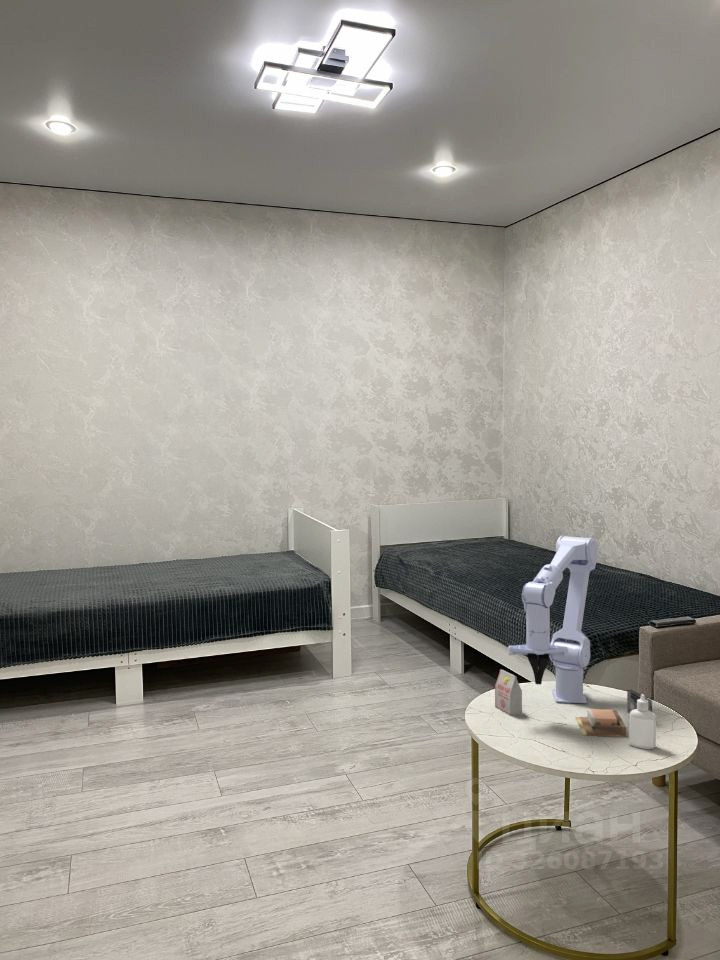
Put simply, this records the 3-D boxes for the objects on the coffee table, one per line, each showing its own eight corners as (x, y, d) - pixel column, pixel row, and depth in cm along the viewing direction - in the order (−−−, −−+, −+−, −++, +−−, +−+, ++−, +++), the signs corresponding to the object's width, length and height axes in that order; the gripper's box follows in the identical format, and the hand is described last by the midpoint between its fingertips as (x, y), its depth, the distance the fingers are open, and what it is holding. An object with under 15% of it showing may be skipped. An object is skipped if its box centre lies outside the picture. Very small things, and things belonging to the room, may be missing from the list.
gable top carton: (506, 704, 199) (506, 668, 198) (522, 713, 193) (521, 675, 192) (495, 707, 197) (494, 670, 197) (510, 715, 191) (509, 677, 191)
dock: (575, 717, 189) (575, 709, 189) (616, 718, 188) (616, 710, 188) (582, 735, 178) (582, 726, 178) (626, 736, 177) (626, 727, 177)
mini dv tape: (652, 723, 185) (652, 699, 184) (646, 724, 184) (646, 700, 184) (632, 711, 192) (632, 689, 192) (627, 712, 192) (627, 689, 192)
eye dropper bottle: (646, 752, 168) (647, 700, 167) (626, 744, 173) (626, 693, 172) (659, 747, 170) (659, 696, 170) (638, 739, 175) (638, 689, 174)
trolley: (587, 720, 187) (587, 708, 186) (613, 721, 186) (613, 709, 185) (591, 731, 180) (591, 718, 180) (619, 732, 179) (619, 719, 179)
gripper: (509, 633, 184) (510, 687, 185) (570, 634, 182) (570, 689, 183) (507, 626, 191) (508, 678, 192) (565, 627, 189) (565, 679, 190)
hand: (538, 683), depth 188 cm, fingers closed
